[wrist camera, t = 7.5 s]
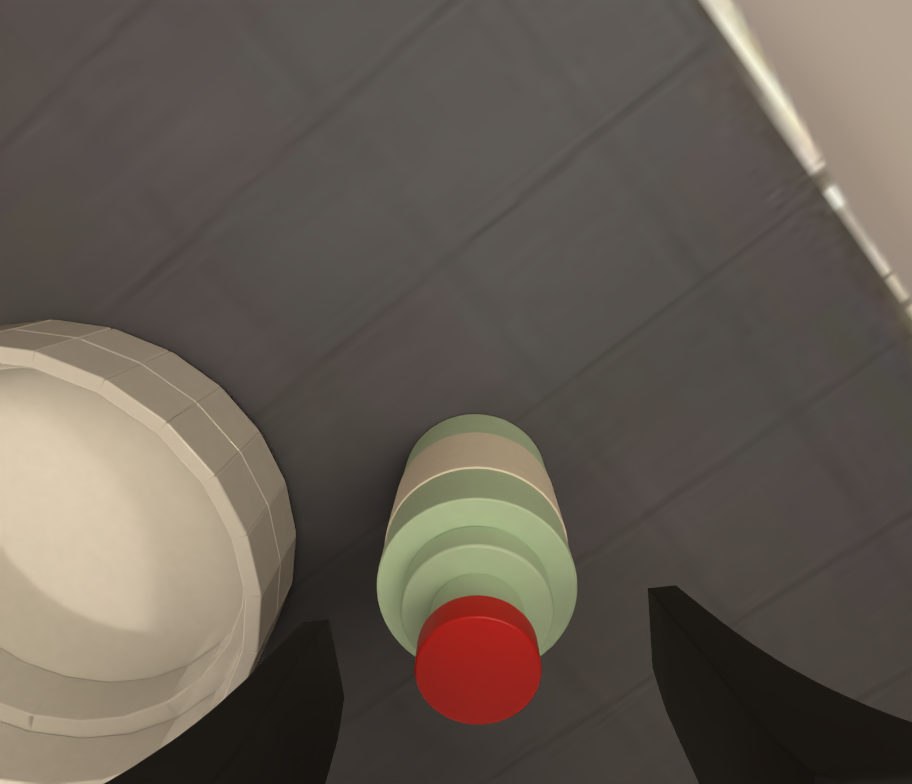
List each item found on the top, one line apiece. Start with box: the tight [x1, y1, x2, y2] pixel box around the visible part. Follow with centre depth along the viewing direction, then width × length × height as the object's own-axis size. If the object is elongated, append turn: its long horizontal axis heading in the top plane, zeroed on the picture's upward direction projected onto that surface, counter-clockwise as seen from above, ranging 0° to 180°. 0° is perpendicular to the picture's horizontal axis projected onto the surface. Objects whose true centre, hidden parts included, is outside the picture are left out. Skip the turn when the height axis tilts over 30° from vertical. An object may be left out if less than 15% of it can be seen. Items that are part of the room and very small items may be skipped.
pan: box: [0, 319, 296, 784], centre depth 21 cm, size 15×15×4 cm
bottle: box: [377, 414, 577, 724], centre depth 18 cm, size 5×5×10 cm
